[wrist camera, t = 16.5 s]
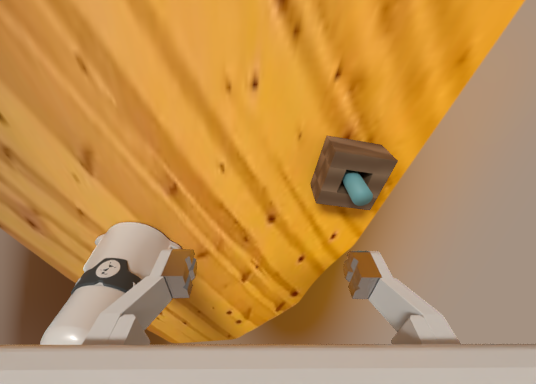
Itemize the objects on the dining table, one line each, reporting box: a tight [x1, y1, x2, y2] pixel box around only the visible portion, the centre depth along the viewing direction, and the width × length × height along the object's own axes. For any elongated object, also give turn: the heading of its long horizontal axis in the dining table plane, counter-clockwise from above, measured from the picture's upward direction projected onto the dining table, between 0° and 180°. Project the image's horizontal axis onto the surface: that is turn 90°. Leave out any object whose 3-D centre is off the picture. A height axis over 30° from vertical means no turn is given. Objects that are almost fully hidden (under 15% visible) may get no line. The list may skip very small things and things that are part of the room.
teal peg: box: [342, 170, 373, 206], centre depth 38 cm, size 3×3×10 cm
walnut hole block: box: [311, 136, 398, 210], centre depth 40 cm, size 10×10×6 cm
